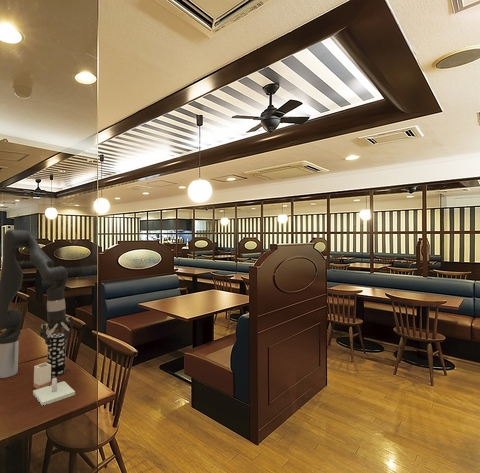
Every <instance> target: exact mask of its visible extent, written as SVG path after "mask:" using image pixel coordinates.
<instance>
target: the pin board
mask: <svg viewBox="0 0 480 473" xmlns="http://www.w3.org/2000/svg"><path fill="white" fill-rule="evenodd" d="M32 395H33V396H34V398H35V399H36V398H37V399H36V400H37V401H38V403H39V402H40V403H39V404H40V406H42V407H44V406H47V405H49V404H52V403H56V402H58V401H62V400H64V399H67V398H70V397H72V396H75V395H76V391H75V390H74V388H72V387H71V386H70V385H69V384H68V383H67V382H66V381H65V380H64V381H60V382H58V379H57V377H52V378H51V385H50V386H46V387H43V388H40V389H37V388H36V389H33V390H32ZM46 404H47V405H46ZM43 405H44V406H43Z"/></svg>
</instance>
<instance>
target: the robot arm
mask: <svg viewBox="0 0 480 473" xmlns="http://www.w3.org/2000/svg"><path fill="white" fill-rule="evenodd" d="M2 244H3V246H2V247H3V248H2V263H1V264H2V265H1V271H0V331H3V330H4V331H3V332H2V333H1V334H0V379H5V378H9V377H13V376H15V375H17V374H18V371H19V370H18V368H19V364H18V363H19V340H20V336H21V331H22V320H23V316H22V313H21V311H20V310H19V309H18V308H12V309H11V308H10V309H9V307H10V304H11V302H12V300H13V299H14V297H15V296H16V295H17V294H18V292H19V291H20V289H21V287H22V285H23V279H24V272H23V270H22V267H21V266H20V265H19V263H18V260H17V259H16V258H17V257H16V249H23V248H24V249H27V251H28V250H29V252H30V254H29V259H30V262H31V264H32V265H33V266H34V267H35V268H36V269H37V270H38V272H39V274H40V277H41V280H42V281H43V282H45V283H48V284H51V283H54V285H52V286H50V287H49V288H47V290H46V299H47V300H46V316H47V317H46V319H47V323H44V324H43V323H41V324H40V326H39V328H40V329H39V331H40V332H39V337H41V338H44V343H45V345H46V346H48V345H51V342H50V335H51V334H54V332H55V331H57V330H61V329H62V330H63V333H64V338H65V339H66V340H68V339H69V337H70V330H72V329H73V328H74V324H73V317H72V316H67V315H66V314H67V312H66V300H65V288H66V284H67V280H68V274H69V273H68V271H67V269H66V267H65V266H62V265H61V266H55V264H54V260H52V258H50V257H49V255H47V254H46V253H45V252H44V251H43V249H42V247H41V246H40V244H39V243H38V241H37V240H36V238H35V237H34V235H33V234H32V233H31V232H30V231H29V230H25V229H8V230H6V231H5V233H4V236H3V243H2ZM54 266H55V267H54ZM66 323H67V324H66Z"/></svg>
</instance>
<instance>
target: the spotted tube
mask: <svg viewBox="0 0 480 473" xmlns="http://www.w3.org/2000/svg"><path fill="white" fill-rule="evenodd" d="M50 342H51V345H47V353H46V355H47V356H46V357H47V359H46V363H48V364H51V378H57V377H60V376H63V375H64V374H65V373H66V362H67V361H66V357H67V355H66V354H67V339H65V338H64V332H56V333H52V334H51V335H50Z"/></svg>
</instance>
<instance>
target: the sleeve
mask: <svg viewBox="0 0 480 473" xmlns="http://www.w3.org/2000/svg"><path fill="white" fill-rule="evenodd" d="M33 368H34V370H33V388H34V387H35V389H36V390H37V389H40V388H43V387H46V386H49V385H52V377H51V364H48V363H47V362H42V363H40V364H37V365H34V367H33Z"/></svg>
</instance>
